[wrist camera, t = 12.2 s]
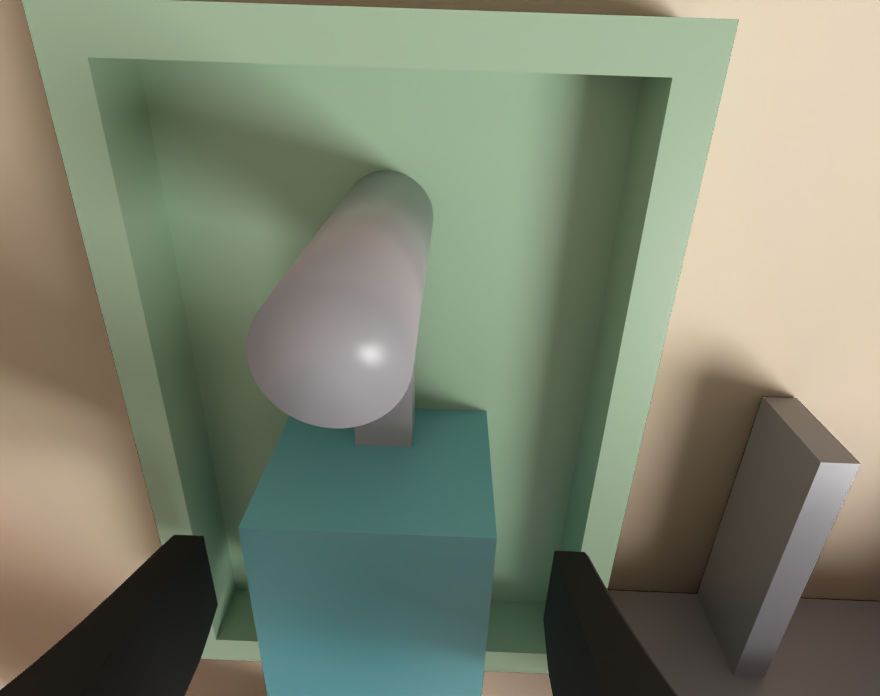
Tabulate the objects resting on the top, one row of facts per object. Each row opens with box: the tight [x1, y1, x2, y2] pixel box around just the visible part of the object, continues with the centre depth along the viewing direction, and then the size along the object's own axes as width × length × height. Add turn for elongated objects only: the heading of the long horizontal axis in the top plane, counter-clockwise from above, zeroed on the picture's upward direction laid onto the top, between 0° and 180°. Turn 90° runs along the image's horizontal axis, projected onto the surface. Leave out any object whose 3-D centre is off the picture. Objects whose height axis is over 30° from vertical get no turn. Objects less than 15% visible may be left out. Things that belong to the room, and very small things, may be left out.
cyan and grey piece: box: [238, 171, 497, 696], centre depth 11 cm, size 11×4×6 cm, turn 178°
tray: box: [22, 0, 739, 674], centre depth 13 cm, size 15×11×2 cm
